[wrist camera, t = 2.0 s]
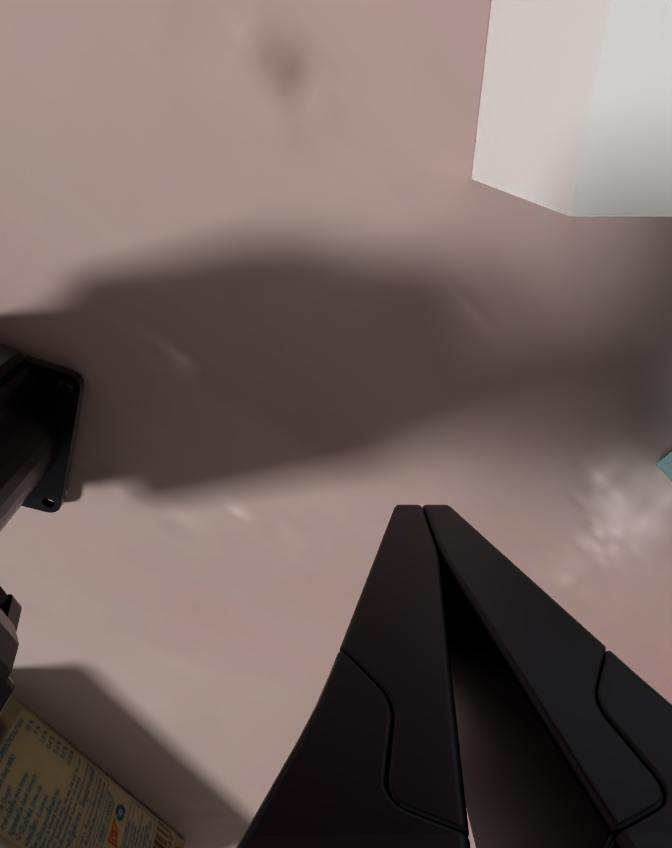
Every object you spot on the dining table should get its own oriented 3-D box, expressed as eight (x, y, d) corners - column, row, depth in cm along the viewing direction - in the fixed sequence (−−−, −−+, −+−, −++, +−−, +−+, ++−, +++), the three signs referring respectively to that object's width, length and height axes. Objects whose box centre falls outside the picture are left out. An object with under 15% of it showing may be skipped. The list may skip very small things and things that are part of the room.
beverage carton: (-13, 660, 28) (-101, 800, 22) (195, 835, 36) (171, 970, 31) (-129, 706, 30) (-239, 848, 24) (96, 863, 38) (55, 997, 32)
